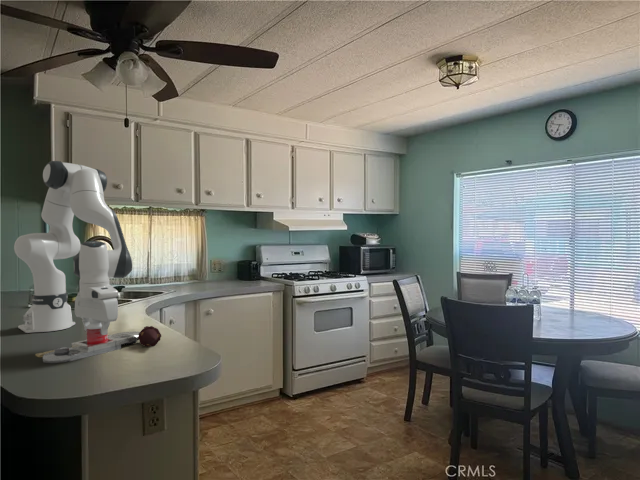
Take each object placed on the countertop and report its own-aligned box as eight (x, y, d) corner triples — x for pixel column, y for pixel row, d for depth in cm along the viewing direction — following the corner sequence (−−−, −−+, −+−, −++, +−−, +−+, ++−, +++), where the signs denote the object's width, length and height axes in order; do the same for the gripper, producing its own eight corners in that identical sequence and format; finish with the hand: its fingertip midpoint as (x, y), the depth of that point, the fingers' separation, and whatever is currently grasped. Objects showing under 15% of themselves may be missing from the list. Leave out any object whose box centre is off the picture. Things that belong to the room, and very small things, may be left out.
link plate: (39, 359, 141) (39, 355, 141) (35, 357, 142) (35, 353, 142) (66, 353, 147) (66, 349, 147) (62, 351, 149) (62, 348, 149)
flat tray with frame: (52, 365, 132) (52, 355, 132) (36, 360, 138) (36, 350, 137) (148, 341, 158) (148, 333, 158) (132, 338, 164) (131, 330, 164)
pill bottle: (109, 350, 147) (108, 317, 147) (88, 353, 144) (87, 319, 144) (106, 346, 152) (105, 314, 152) (86, 349, 149) (85, 316, 149)
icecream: (167, 329, 149) (157, 325, 161) (144, 326, 145) (136, 322, 158) (163, 350, 148) (153, 345, 160) (139, 348, 144) (131, 343, 156)
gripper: (68, 289, 151) (69, 331, 151) (102, 294, 139) (103, 338, 140) (87, 287, 156) (88, 327, 156) (121, 291, 144) (122, 334, 145)
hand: (95, 332), depth 148 cm, fingers open, 8 cm apart
